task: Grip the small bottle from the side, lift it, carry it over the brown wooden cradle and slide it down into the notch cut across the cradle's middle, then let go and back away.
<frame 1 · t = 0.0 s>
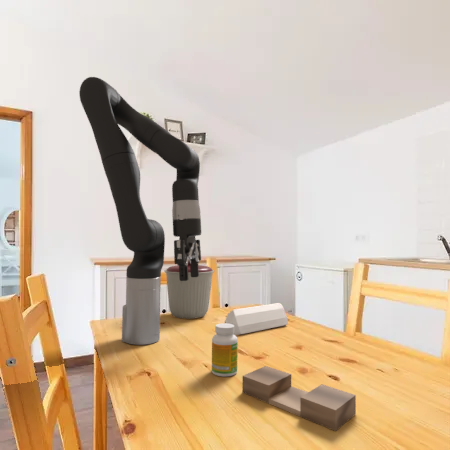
hand: (189, 278, 92), 17 cm above the table, tool pointing down, fingers open, 8 cm apart
brown wooden cradle: (295, 402, 59), on the table
canister: (188, 316, 125), on the table
supplement bottle: (224, 373, 73), on the table
crystal: (257, 329, 109), on the table
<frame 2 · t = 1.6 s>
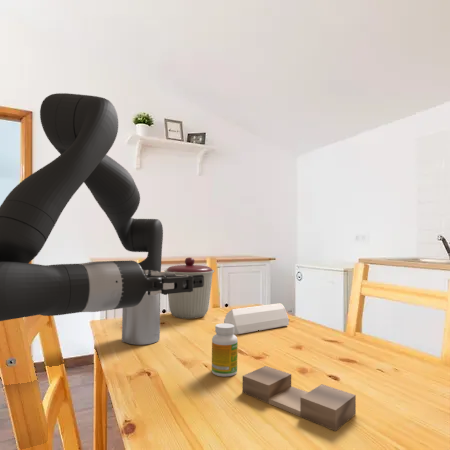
hand: (187, 278, 65), 20 cm above the table, tool horizontal, fingers open, 8 cm apart
nothing on the table moved.
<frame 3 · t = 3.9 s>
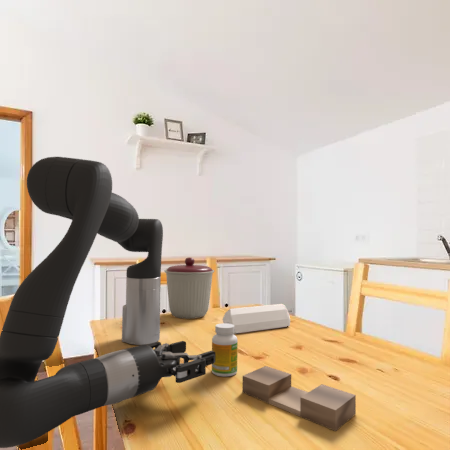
hand: (198, 351, 68), 6 cm above the table, tool horizontal, fingers open, 8 cm apart
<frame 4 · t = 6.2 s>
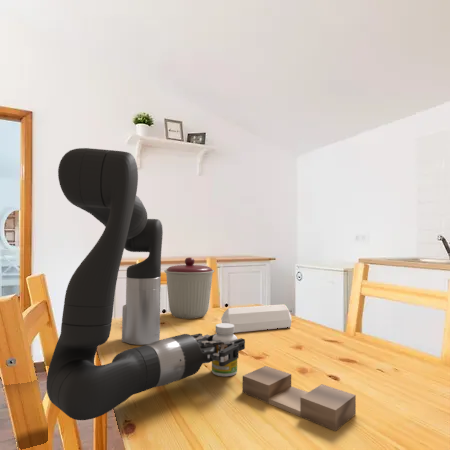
hand: (232, 340, 75), 6 cm above the table, tool horizontal, fingers closed on supplement bottle, 5 cm apart
supplement bottle: (224, 373, 73), on the table, touching gripper
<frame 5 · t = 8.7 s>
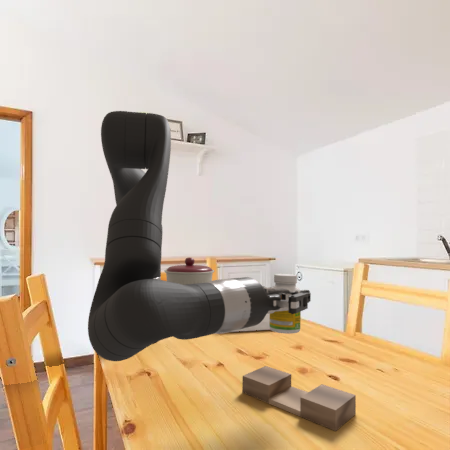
hand: (293, 294, 63), 18 cm above the table, tool horizontal, fingers closed on supplement bottle, 5 cm apart
supplement bottle: (284, 331, 61), point 12 cm above the table, touching gripper
when the fingers open (8 cm above the table, at t = 11.3 s): supplement bottle stays where it is, resting on brown wooden cradle.
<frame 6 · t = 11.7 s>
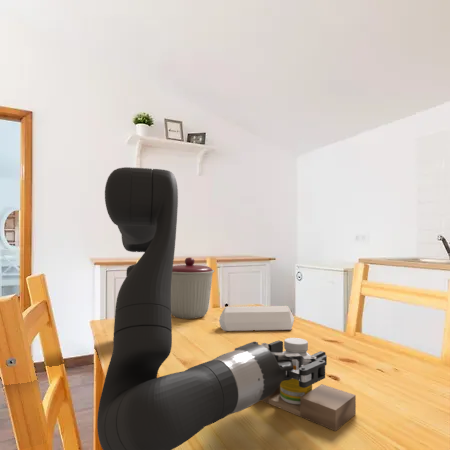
hand: (301, 351, 61), 8 cm above the table, tool horizontal, fingers open, 8 cm apart
supplement bottle: (295, 399, 59), point 1 cm above the table, touching brown wooden cradle
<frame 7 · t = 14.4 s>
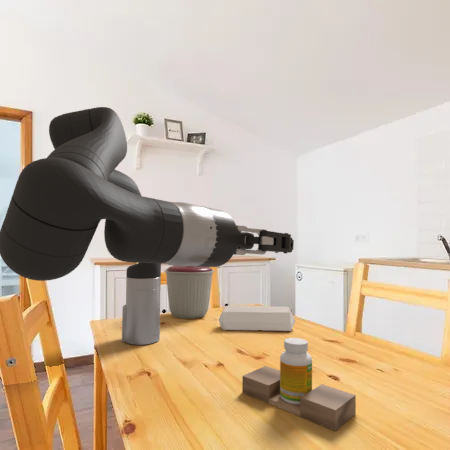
hand: (266, 244, 54), 27 cm above the table, tool horizontal, fingers open, 8 cm apart
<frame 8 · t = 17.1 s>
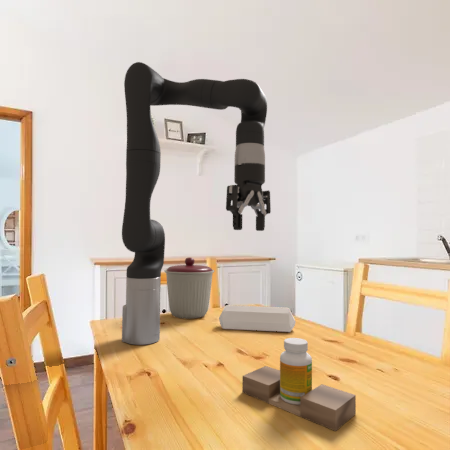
hand: (249, 230, 85), 30 cm above the table, tool pointing down, fingers open, 8 cm apart
at the end: supplement bottle 0.2 cm off-centre on the brown wooden cradle, point 0.6 cm above the brown wooden cradle's base; supplement bottle tilted 0°; the gripper is holding nothing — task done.
